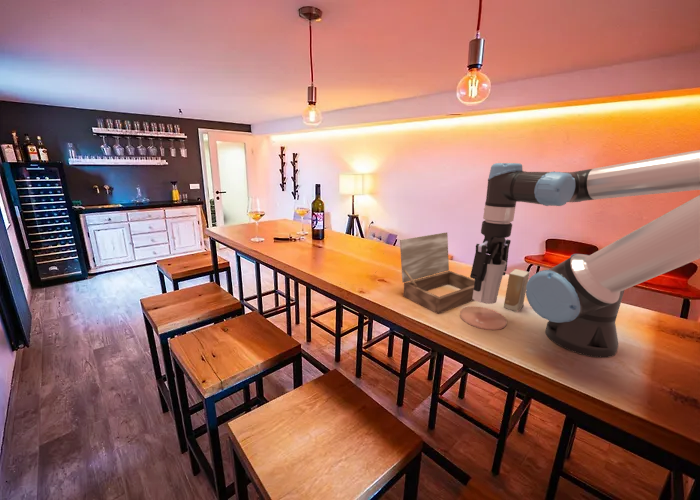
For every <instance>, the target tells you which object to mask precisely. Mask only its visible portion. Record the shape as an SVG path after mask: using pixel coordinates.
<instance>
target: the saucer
mask: <svg viewBox="0 0 700 500" xmlns="http://www.w3.org/2000/svg"><path fill="white" fill-rule="evenodd" d="M459 317H460V319H461V320H462V321H463V322H464V323H465V324H467V325H470V326H471V327H475V328H477V329H481V330H488V331H499V330H501V329H504V328H505V327H507V323H508V320H507V318H506V317H505V316H504V315H503V314H501V313H500V312H498V311H496V310H493V309H491V308H487V307H483V306H482V307H481V306H473V305H472V306H466V307H463V308H462V309H460V312H459Z"/></svg>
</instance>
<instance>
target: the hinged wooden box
mask: <svg viewBox="0 0 700 500" xmlns="http://www.w3.org/2000/svg"><path fill="white" fill-rule="evenodd" d="M448 236H449V235H448V232H441V233H434V234H428V235H423V236H417V237H415V236H414V237H410V238H402V239H399V247H400V248H399V249H400V260H401V261H400V263H401V267H400V268H401V279H402V280H401V281H402V283H403V294H402V297H404V298H406V299H408V300H409V301H412V302H414V303H416V304H418V305H420V306H421V307H424V308H426V309H427V310H430V311H431V312H434V313H436V314H438V315H439V314H442V313H444V312H446V311H449V310H452V309H454V308H456V307H460V306H462V305H465V304H466V303H470V302H472V301H474V300H473V299H472V297H473V291H474V283H475V279H473V278H471V277H470V276H469V277H468V276H466V275H463V274H460V273H457V272H454V271H451V270H450V268H449V267H450V266H449V265H450V262H449V240H448V239H449V238H448ZM448 285H450V286H452V287H454V288H457V289H458V290H455V291H451V292H449V293H447V294H444V295H440V296H438V295H436V294H434V293H432V292H429V291H431V290H433V289H438V288H441V287H443V286H448Z"/></svg>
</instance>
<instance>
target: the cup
mask: <svg viewBox="0 0 700 500" xmlns="http://www.w3.org/2000/svg"><path fill="white" fill-rule="evenodd" d="M484 264H485V263H484ZM505 267H506V262H505V261H504V260H502V261H501V265H494V264H493V262H492V259H491V262H490V264H487V272H486V275H485V278H484V280H485V288H484V294H483V300H482V302H480V303H481V304H486V305H493V304H496V303H497V300H498V296H497V295H499V291H500V287H501V283H502V280H503V276H504V275H503V274H504V272H505V271H504V270H505Z"/></svg>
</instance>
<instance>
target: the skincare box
mask: <svg viewBox="0 0 700 500" xmlns="http://www.w3.org/2000/svg"><path fill="white" fill-rule="evenodd" d="M529 276H530V272H529V271H526V270H522V269H517V268H515V269H513V270H512V271H511V272H509V274H508V280H507V286H506V291H505V292H506V293H505V297H504V303H503V308H504V309H507V310H510V311H513V312H518V313H519V311H520V310H522V309H521V308H523V306H524V302H525V297H526V285H527V282H528V280H529V279H530V277H529Z"/></svg>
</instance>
